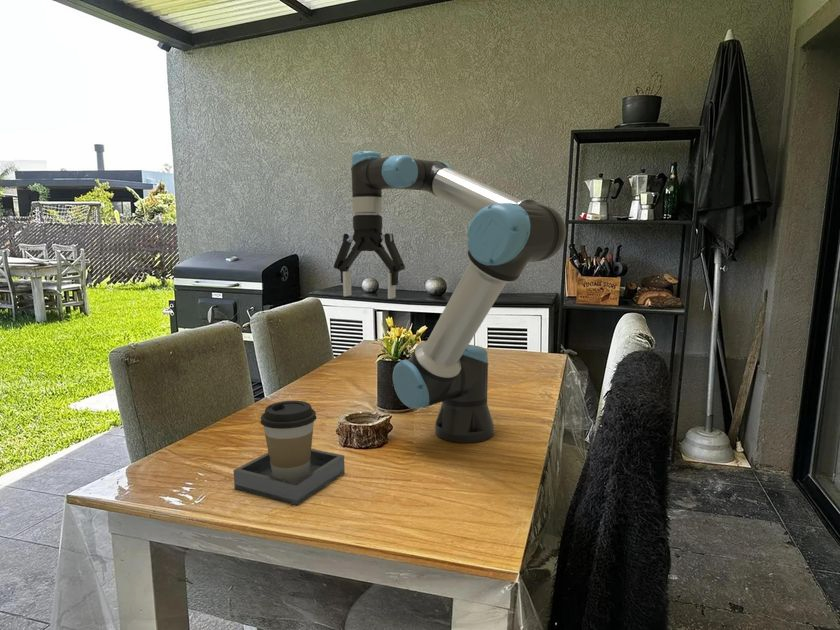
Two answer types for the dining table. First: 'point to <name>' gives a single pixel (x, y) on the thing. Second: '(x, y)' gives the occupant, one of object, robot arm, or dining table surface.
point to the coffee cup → (289, 438)
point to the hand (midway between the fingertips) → (369, 297)
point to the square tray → (263, 483)
